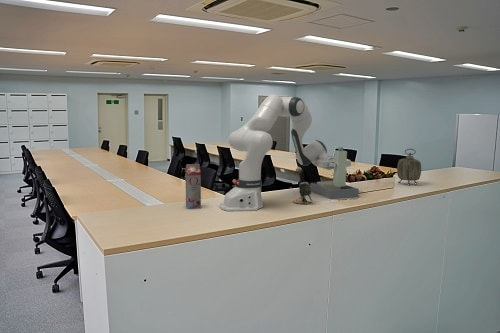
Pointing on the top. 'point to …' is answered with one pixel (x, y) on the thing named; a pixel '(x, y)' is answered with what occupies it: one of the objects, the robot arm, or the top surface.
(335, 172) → the drink bottle
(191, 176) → the juice carton
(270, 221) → the top surface
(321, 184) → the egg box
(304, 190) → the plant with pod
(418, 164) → the tabletop clock
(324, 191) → the tray
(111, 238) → the top surface
